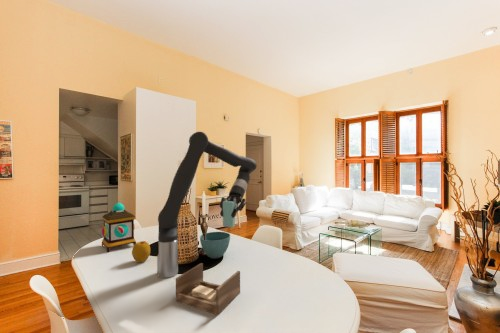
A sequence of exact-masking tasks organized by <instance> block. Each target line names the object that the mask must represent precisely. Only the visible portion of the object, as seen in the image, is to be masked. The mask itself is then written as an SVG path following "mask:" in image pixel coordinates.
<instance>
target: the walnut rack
mask: <svg viewBox="0 0 500 333" xmlns="http://www.w3.org/2000/svg"><path fill="white" fill-rule="evenodd" d="M199 285H202V286H205V287H208V288H211V289H214V292H215V293H216V301H215V302H214V303H212V302H209V301H205V300H202V299H198V298H195V297H192V295H193V294H192V290H193V289H194V288H196V287H198V286H199ZM240 294H241V271H240V270H236V272H235V273H233V274H232V275H231V276H230V277H229V278H227V279H226V280H225V281H224V282H223V283H221V284H217V283H213V282H208V281H204V263H202V262H201V263H198V264H197V265H195V266H194V267H192V268H190V269H189V270H187V271H185V272H183V273H182V274H181V275H178V276H177V277H176V278H175V302H177V303H180V304H183V305H186V306H189V307H192V308H196V309H198V310H202V311H205V312H209V313H211V314H213V315H218V316H219V315H221V313H222V312H223V311H224V310H225V309H226V308H228V306H230V304H231V303H232V302H233V301H234V300H235V299H236V298H237V297H238V296H239V295H240Z"/></svg>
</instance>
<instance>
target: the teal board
mask: <svg viewBox="0 0 500 333" xmlns="http://www.w3.org/2000/svg"><path fill="white" fill-rule="evenodd" d="M234 207H235V202H232V201H223V217H222V226H223V227H227V228H228V227H229V228H234V227H236V216H235V217H234V218H232V216H231V214H232V212H233V210H234Z"/></svg>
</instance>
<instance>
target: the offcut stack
mask: <svg viewBox="0 0 500 333" xmlns="http://www.w3.org/2000/svg"><path fill="white" fill-rule="evenodd" d="M192 294H193V295H192V297H195V298H198V299H202V300H205V301H209V302H212V303H214V302H215V301H216V293H215V292H214V289H211V288H208V287H205V286H202V285H199V286H198V287H196V288H194V289H193V290H192Z"/></svg>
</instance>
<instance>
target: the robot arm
mask: <svg viewBox="0 0 500 333" xmlns="http://www.w3.org/2000/svg"><path fill="white" fill-rule="evenodd" d="M188 143H189V144H188V148H187V150H186V153H185V156H184V157H183V160H182V161H181V163H180V164H179V166H178V167H177V170H176V172H175V174H174V176H173V180H172V181H171V182H172V183H171V186H170V189H169V193H168V197H167V199H166V201H165V204H164V206H163V208H162V209H161V210H160V212H159V214H158V216H157V222H158V236H157V237H158V254H157V256H156V260H157V262H156V263H157V264H156V272H157V275H158V276H159V278H162V279H165V278H172V277H175V276H177V275H178V273H179V250H178V249H179V247H178V246H179V245H178V244H179V242H178V241H179V238H178V237H179V234H178V232H179V231H178V230H179V229H178V217H179V214H180V210H181V207H182V204H183V202H184V200H185V198H186V197H187V194H188V192H189V191H190V188H191V186H192V183H193V181H194V178H195V175H196V172H197V169H198V166H199V163H200V160H201V158H202V156H203V154H204V153H205V154H209V155H210V156H213V157H215V158H216V159H218V160H220V161H221V162H224V163H226V164H227V165H230V166H232V167H234V168H237V167H239V169H238V173H237V176H236V177H235V178H236V179H235V180H234V182H233V184H232V186H231V188H230V191H229V193H228V196H227V197H226V198H225V197H224V196H223V197H221V200H220V203H219V208H220V209H221V210H220V213H219V214H220V217H222V218H223V201H232V202H235V207H234V210H233V212H232V214H231V216H232V218H234V217H235V218H236V216H237V213H238V212H241V211H243V210H244V207H245V206H246V204H247V199H246V198H244V196H245V193H246V191H247V188H248V185H249V183H250V179H251V176H250V175H251V173H252V172H254V171H255V170H256V169H257V163H256V161H255V159H252V158H250V157H248V156H243V155H239V154H237V153H235V152H234V151H232V150H229V149H227V148H224V147H221V146H220V145H216V144H215V143H213V142H211V141H210V140H209V138H208V136H207V134H206V133H205V132H204V131H196V132H193V133H192V134H191V135H190V136H189V140H188Z"/></svg>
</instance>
